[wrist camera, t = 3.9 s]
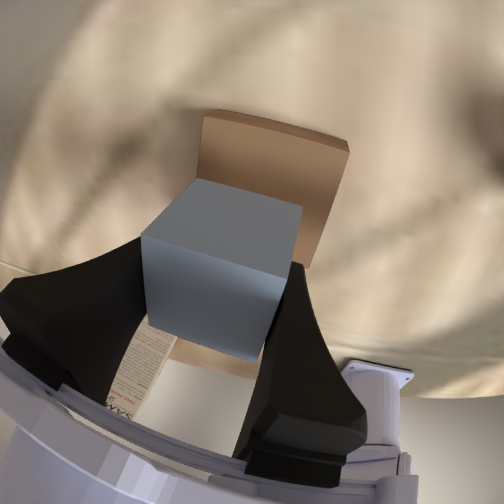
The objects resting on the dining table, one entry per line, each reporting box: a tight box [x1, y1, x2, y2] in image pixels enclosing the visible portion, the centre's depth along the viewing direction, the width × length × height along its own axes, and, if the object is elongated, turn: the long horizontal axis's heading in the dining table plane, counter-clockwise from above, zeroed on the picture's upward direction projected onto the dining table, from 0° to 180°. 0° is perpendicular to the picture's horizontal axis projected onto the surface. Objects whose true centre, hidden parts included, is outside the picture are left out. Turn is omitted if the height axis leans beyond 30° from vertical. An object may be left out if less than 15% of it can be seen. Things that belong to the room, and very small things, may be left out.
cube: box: [141, 178, 303, 363], centre depth 12 cm, size 4×4×4 cm
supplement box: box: [105, 314, 178, 422], centre depth 26 cm, size 8×5×13 cm, turn 154°
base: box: [197, 109, 350, 269], centre depth 18 cm, size 8×8×3 cm
